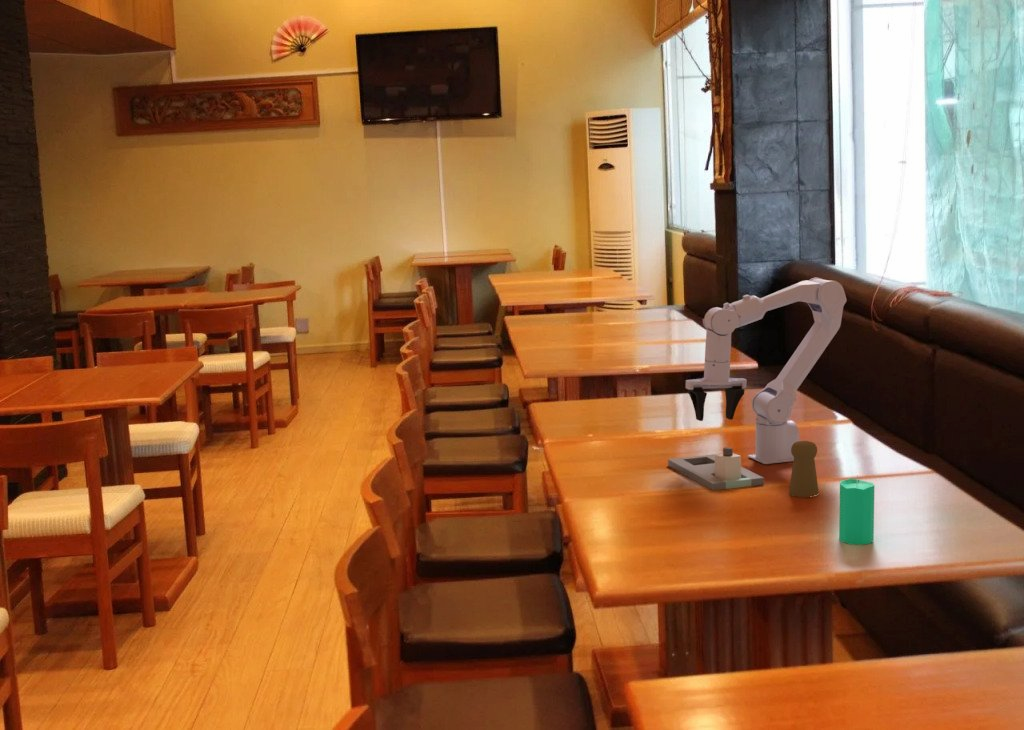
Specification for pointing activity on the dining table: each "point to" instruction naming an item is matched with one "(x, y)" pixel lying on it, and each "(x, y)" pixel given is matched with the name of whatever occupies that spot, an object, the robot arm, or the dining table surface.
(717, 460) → the plug
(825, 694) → the dining table surface
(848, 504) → the candle
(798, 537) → the dining table surface
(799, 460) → the cork
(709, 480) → the grey board with holes
